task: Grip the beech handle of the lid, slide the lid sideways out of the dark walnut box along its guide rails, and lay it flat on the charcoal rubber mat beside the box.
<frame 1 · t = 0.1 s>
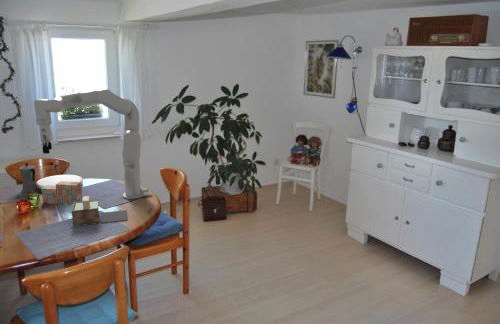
hand: (47, 151, 233), 31 cm above the table, tool pointing down, fingers open, 9 cm apart
plate: (60, 186, 271), on the table
mat: (114, 216, 223), on the table
lid: (86, 207, 217), point 7 cm above the table, touching box
box: (86, 219, 219), on the table
coffeepot: (31, 190, 262), on the table
stack of blocks: (63, 202, 243), on the table
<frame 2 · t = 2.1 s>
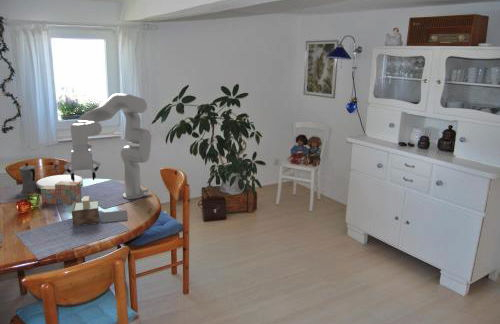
hand: (83, 180, 213), 22 cm above the table, tool pointing down, fingers open, 9 cm apart
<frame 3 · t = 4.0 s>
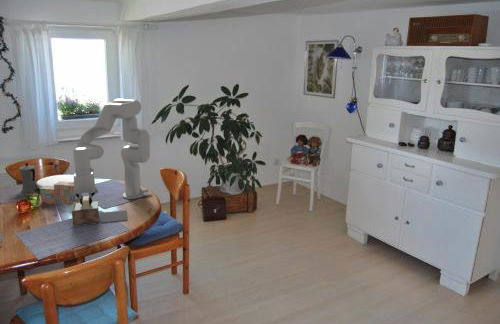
hand: (86, 204, 217), 9 cm above the table, tool pointing down, fingers closed on lid, 3 cm apart
lid: (86, 207, 217), point 7 cm above the table, touching box, gripper
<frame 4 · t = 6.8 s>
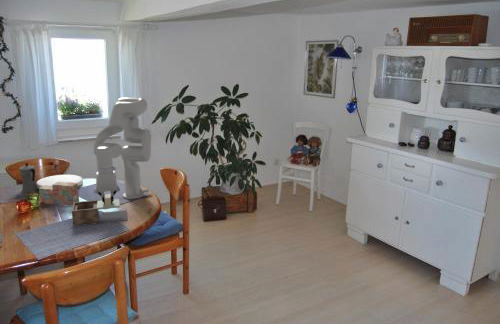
hand: (108, 202, 220), 8 cm above the table, tool pointing down, fingers closed on lid, 3 cm apart
lid: (108, 205, 220), point 7 cm above the table, touching gripper
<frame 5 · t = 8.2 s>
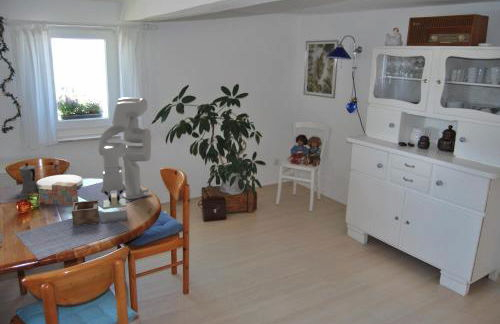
hand: (114, 202, 221), 8 cm above the table, tool pointing down, fingers closed on lid, 3 cm apart
lid: (114, 204, 221), point 7 cm above the table, touching gripper
when the fingers open (3 cm above the table, at t = 9.6 s): lid drops 1 cm, resting on mat.
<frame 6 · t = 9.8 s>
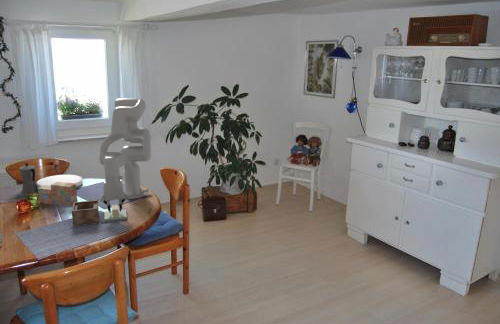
hand: (115, 210, 222), 3 cm above the table, tool pointing down, fingers open, 4 cm apart
lid: (115, 215, 223), resting on mat
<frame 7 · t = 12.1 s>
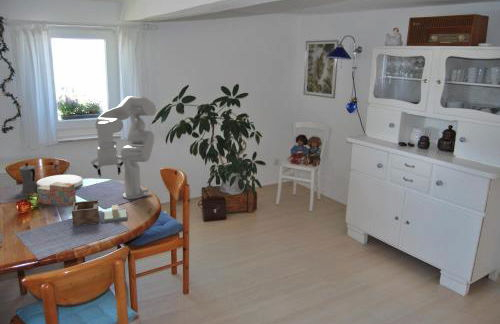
hand: (109, 174, 224), 21 cm above the table, tool pointing down, fingers open, 9 cm apart
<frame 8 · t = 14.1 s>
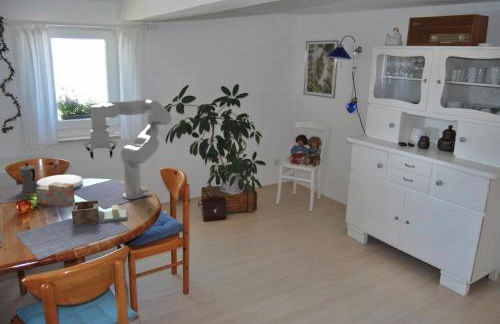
hand: (101, 157, 232), 28 cm above the table, tool pointing down, fingers open, 9 cm apart
at the end: lid inside the target area on the mat (0.7 cm from its centre), point 0.5 cm above the mat's base; lid tilted 0°; lid touching mat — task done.
